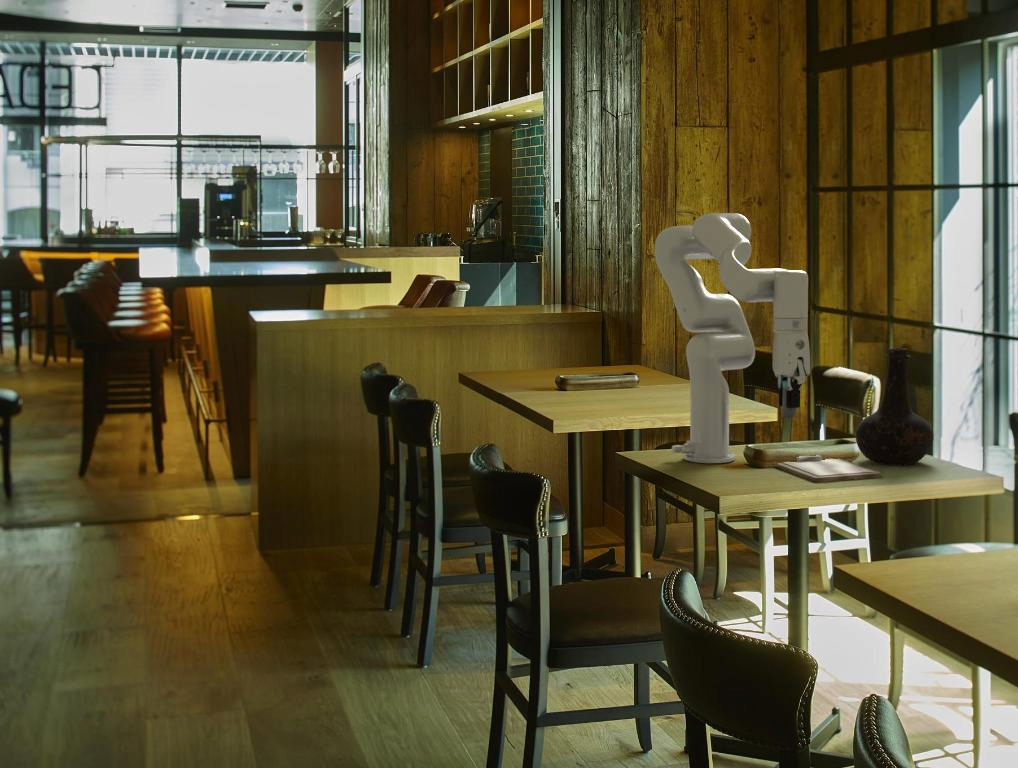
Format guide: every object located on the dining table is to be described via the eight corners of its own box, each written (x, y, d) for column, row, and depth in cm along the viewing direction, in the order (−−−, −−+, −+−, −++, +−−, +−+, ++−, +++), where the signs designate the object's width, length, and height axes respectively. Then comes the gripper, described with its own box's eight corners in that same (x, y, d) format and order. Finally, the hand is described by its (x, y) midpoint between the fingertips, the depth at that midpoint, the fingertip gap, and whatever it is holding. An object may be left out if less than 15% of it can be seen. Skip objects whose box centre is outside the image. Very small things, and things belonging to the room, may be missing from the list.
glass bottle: (844, 465, 304) (846, 349, 301) (870, 453, 319) (873, 343, 315) (918, 472, 294) (921, 353, 291) (942, 460, 308) (945, 346, 305)
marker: (786, 417, 283) (786, 382, 282) (780, 415, 286) (780, 380, 285) (798, 416, 284) (798, 381, 283) (792, 414, 287) (792, 380, 286)
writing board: (815, 482, 284) (815, 472, 284) (774, 466, 303) (774, 457, 303) (882, 477, 289) (882, 467, 288) (837, 462, 308) (837, 453, 308)
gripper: (823, 327, 276) (821, 410, 278) (788, 322, 291) (787, 401, 294) (791, 328, 274) (790, 412, 276) (758, 323, 290) (758, 402, 292)
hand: (789, 405), depth 285 cm, fingers closed on marker, 2 cm apart
